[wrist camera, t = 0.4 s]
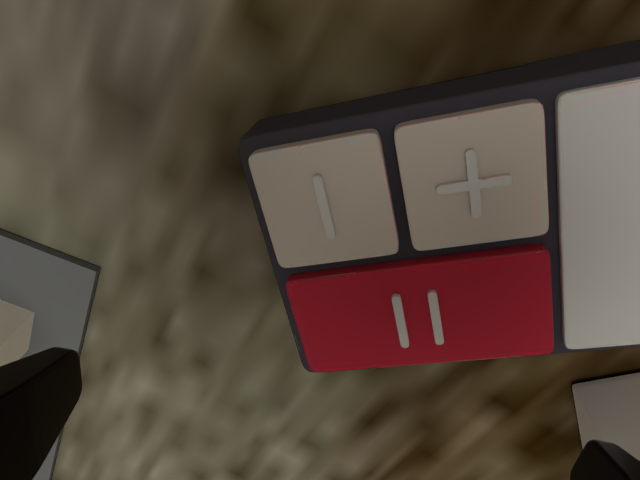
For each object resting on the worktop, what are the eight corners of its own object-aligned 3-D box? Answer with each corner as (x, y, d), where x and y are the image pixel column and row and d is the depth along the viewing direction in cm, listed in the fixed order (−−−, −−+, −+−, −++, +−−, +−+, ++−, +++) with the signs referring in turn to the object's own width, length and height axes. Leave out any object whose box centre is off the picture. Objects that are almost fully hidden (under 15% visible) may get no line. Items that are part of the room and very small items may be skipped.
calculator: (225, 146, 18) (719, 51, 15) (257, 115, 22) (654, 35, 18) (301, 387, 23) (689, 358, 19) (316, 327, 26) (643, 294, 23)
